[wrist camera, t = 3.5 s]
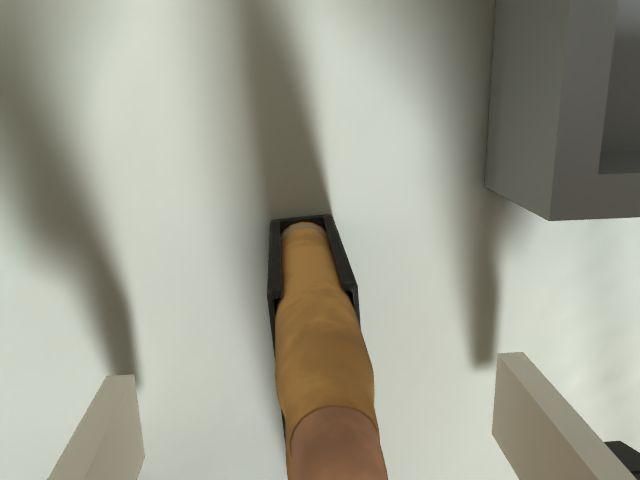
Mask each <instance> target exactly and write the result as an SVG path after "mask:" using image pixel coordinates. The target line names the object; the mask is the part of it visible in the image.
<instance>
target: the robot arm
mask: <svg viewBox="0 0 640 480" xmlns="http://www.w3.org/2000/svg"><path fill="white" fill-rule="evenodd" d="M492 435H493V436H494V438H495V440H496V441H497V443H498V445H499V446H500V448H501V450H502V451H503V453H504V455H505V456H506V458H507V460H508V461H509V463H510V465H511V466H512V468H513V470H514V471H515V473H516V475H517V476H518V478H519V480H640V453H639V452H637V451H636V450H634V449H633V448H631V447H629V446H628V445H626V444H624V443H623V442H621V441H612V442H603V441H602V440H601V439H600V438H599V437H598V435H597V434H596V433H595V432H594V431H593V430H592V429H591V428H590V427H589V425H588V424H587V423H586V422H585V421H584V420H583V419H582V418H581V416H580V415H579V414H578V413H577V412H576V411H575V410H574V409H573V407H572V406H571V405H570V404H569V403H568V402H567V401H566V400H565V399H564V397H563V396H562V395H561V394H560V393H559V392H558V391H557V390H556V388H555V387H554V386H553V385H552V384H551V383H550V382H549V381H548V380H547V378H546V377H545V376H544V375H543V374H542V373H541V372H540V371H539V369H538V368H537V367H536V366H535V365H534V364H533V363H532V362H531V361H530V359H529V358H528V357H527V356H526V355H525V354H524V353H523V352H515V353H498V357H497V370H496V384H495V397H494V411H493V425H492ZM144 458H145V453H144V446H143V438H142V431H141V423H140V416H139V408H138V401H137V393H136V385H135V378H134V375H116V376H106V378H105V380H104V381H103V383H102V385H101V387H100V388H99V390H98V392H97V394H96V395H95V397H94V399H93V401H92V402H91V404H90V406H89V408H88V409H87V411H86V413H85V415H84V416H83V418H82V420H81V422H80V423H79V425H78V427H77V429H76V430H75V432H74V434H73V436H72V437H71V439H70V441H69V443H68V444H67V446H66V448H65V450H64V451H63V453H62V455H61V457H60V458H59V460H58V462H57V464H56V465H55V467H54V469H53V471H52V472H51V474H50V476H49V478H48V479H47V480H137V478H138V475H139V472H140V470H141V467H142V464H143V461H144Z"/></svg>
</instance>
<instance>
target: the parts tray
mask: <svg viewBox="0 0 640 480" xmlns="http://www.w3.org/2000/svg"><path fill="white" fill-rule="evenodd" d="M484 187H486V188H488V189H489V190H491V191H493V192H495V193H497V194H499V195H501V196H503V197H505V198H506V199H508V200H510V201H512V202H514V203H516V204H518V205H520V206H522V207H523V208H525V209H527V210H529V211H531V212H533V213H535V214H537V215H539V216H540V217H542V218H544V219H546V220H548V221H561V220H584V219H608V218H631V217H640V0H496V5H495V22H494V38H493V55H492V71H491V88H490V104H489V121H488V137H487V154H486V170H485V186H484Z"/></svg>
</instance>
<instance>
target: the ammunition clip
mask: <svg viewBox="0 0 640 480" xmlns="http://www.w3.org/2000/svg"><path fill="white" fill-rule="evenodd" d="M267 299H268V307H269V315H270V323H271V331H272V340H273V348H274V356H275V377H276V387H277V394H278V400H279V403H280V406H281V412H282V421H283V429H284V437H285V445H286V465H287V475H288V480H388V476H387V470H386V466H385V461H384V457H383V453H382V450H381V446H380V438H379V428H378V423H377V419H376V414H375V409H374V375H373V368H372V364H371V361H370V358H369V355H368V351H367V348H366V345H365V342H364V339H363V336H362V332H361V326H360V312H359V299H358V286H357V283H356V280H355V277H354V275H353V272H352V269H351V266H350V264H349V261H348V258H347V255H346V252H345V250H344V247H343V244H342V241H341V239H340V236H339V233H338V230H337V228H336V225H335V222H334V219H333V217H332V216H331V215H330V214H327V215H318V216H308V217H298V218H288V219H279V220H272V221H271V223H270V234H269V260H268V285H267Z"/></svg>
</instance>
